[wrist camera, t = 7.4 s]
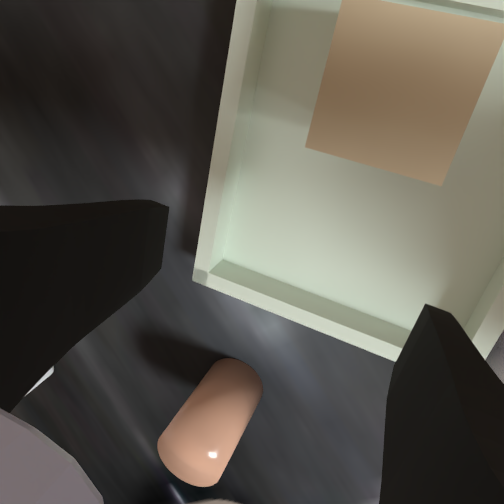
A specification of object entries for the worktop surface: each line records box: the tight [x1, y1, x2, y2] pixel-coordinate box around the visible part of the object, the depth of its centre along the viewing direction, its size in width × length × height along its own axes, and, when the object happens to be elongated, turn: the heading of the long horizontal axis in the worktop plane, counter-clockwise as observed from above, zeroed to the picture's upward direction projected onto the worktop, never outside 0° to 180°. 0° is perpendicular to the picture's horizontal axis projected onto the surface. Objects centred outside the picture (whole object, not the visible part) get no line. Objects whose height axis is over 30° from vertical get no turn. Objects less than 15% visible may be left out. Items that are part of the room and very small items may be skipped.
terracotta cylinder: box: [157, 358, 263, 487], centre depth 24 cm, size 4×4×6 cm
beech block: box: [305, 0, 504, 186], centre depth 14 cm, size 4×4×6 cm
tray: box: [192, 0, 504, 362], centre depth 18 cm, size 14×15×2 cm
